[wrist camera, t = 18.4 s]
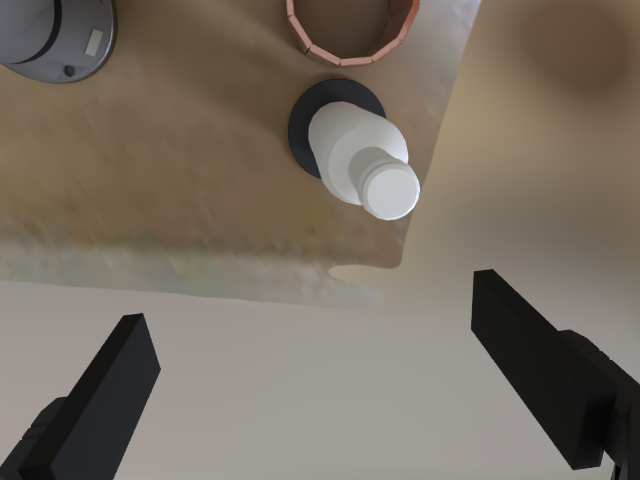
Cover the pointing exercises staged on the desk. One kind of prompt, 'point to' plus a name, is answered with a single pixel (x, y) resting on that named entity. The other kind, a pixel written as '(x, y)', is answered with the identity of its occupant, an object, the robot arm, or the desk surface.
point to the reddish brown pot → (401, 18)
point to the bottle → (363, 160)
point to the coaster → (313, 102)
